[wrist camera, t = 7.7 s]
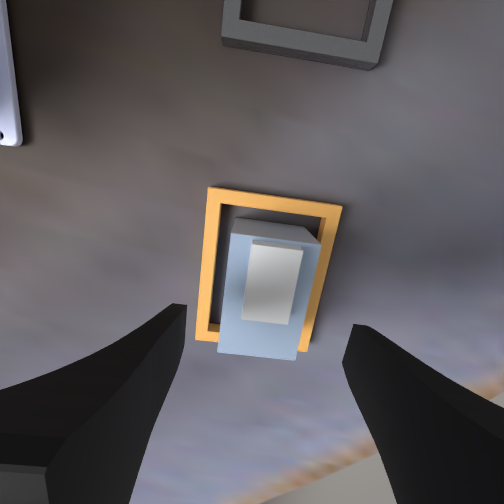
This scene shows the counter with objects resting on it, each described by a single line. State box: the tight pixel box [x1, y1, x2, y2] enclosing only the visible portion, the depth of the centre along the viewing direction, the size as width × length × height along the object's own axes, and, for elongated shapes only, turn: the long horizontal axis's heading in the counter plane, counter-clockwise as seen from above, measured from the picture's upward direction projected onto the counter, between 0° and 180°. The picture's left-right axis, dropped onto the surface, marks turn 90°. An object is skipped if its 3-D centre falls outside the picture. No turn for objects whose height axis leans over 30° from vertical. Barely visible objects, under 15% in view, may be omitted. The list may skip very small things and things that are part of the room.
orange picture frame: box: [195, 187, 342, 352], centre depth 17 cm, size 8×11×1 cm
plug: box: [217, 217, 322, 361], centre depth 15 cm, size 4×7×5 cm, turn 172°
